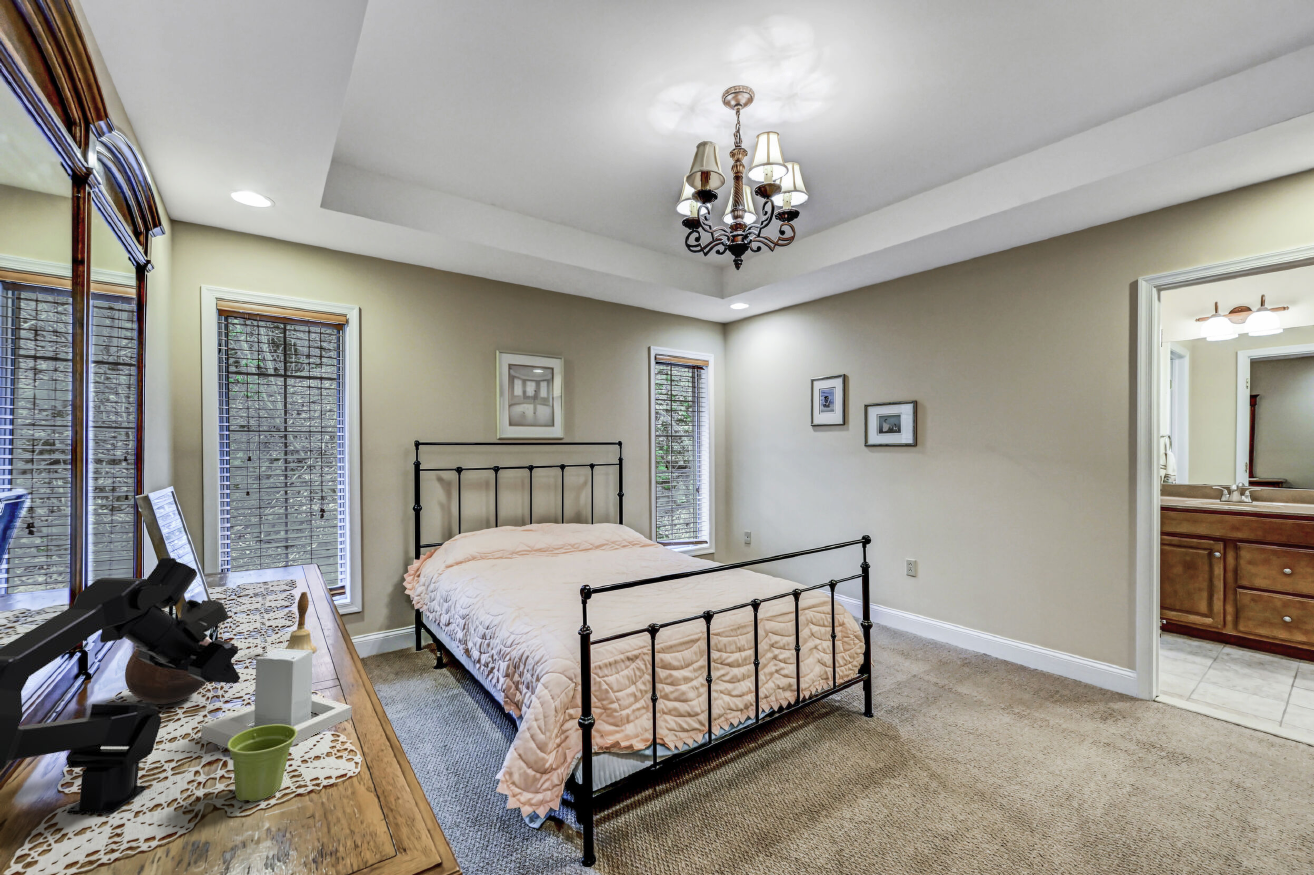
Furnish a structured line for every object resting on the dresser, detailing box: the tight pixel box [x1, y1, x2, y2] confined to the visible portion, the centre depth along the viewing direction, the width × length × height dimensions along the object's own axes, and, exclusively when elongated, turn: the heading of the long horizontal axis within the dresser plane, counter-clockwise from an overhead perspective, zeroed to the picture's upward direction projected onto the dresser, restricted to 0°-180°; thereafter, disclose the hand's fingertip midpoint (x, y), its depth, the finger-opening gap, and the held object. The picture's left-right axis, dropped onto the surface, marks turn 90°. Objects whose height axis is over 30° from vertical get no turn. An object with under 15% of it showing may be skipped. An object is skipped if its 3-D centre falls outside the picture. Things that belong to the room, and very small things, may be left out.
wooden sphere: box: [124, 636, 212, 705], centre depth 122 cm, size 15×15×15 cm
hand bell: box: [284, 591, 318, 654], centre depth 154 cm, size 8×8×16 cm
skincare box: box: [253, 647, 314, 728], centre depth 113 cm, size 8×6×15 cm
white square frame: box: [200, 694, 353, 749], centre depth 113 cm, size 18×17×2 cm
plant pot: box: [227, 724, 297, 802], centre depth 93 cm, size 9×9×9 cm
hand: (221, 675), depth 104 cm, fingers open, 9 cm apart
